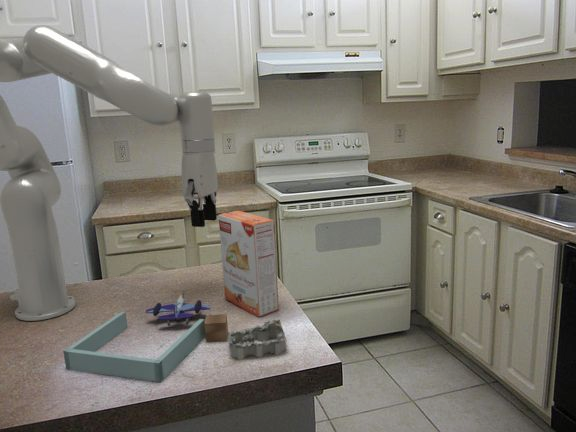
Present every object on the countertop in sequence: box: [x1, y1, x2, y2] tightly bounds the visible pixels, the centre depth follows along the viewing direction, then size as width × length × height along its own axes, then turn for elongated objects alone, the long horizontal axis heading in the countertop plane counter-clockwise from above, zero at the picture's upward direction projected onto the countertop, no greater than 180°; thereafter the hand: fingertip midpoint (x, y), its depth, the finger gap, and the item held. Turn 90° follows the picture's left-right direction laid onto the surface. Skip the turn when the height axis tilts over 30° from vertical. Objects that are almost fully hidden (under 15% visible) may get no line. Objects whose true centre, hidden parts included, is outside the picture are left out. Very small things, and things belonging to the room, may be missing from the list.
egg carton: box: [227, 319, 287, 360], centre depth 90 cm, size 11×8×4 cm
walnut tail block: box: [204, 313, 229, 344], centre depth 95 cm, size 4×4×4 cm
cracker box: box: [218, 210, 280, 318], centre depth 108 cm, size 14×6×21 cm, turn 39°
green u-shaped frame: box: [63, 310, 206, 383], centre depth 90 cm, size 19×17×4 cm
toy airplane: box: [145, 291, 211, 326], centre depth 105 cm, size 13×14×4 cm
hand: (204, 222), depth 115 cm, fingers open, 5 cm apart
